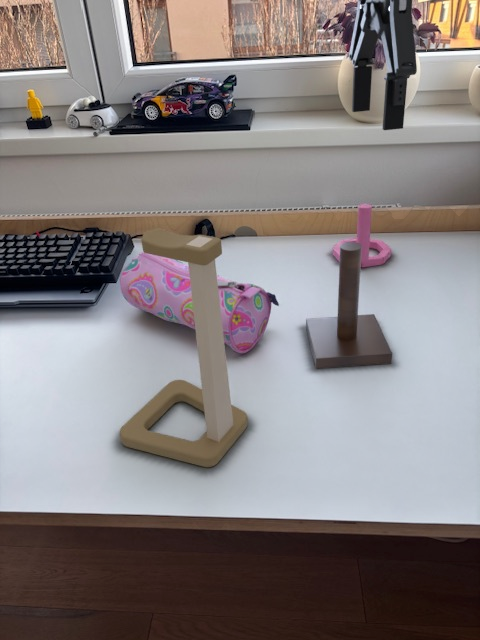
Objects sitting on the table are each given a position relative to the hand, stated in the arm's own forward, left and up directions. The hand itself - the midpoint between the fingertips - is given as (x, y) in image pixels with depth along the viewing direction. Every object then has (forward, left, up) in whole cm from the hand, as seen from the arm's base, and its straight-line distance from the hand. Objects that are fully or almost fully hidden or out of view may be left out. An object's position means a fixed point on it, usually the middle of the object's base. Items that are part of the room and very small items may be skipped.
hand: (375, 119), depth 82 cm
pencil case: (+23, +27, -21) cm, 41 cm away
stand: (+3, +30, -21) cm, 37 cm away
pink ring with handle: (+1, +4, -21) cm, 21 cm away
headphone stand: (+19, +47, -21) cm, 55 cm away
